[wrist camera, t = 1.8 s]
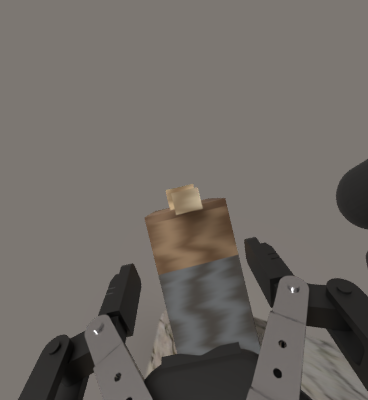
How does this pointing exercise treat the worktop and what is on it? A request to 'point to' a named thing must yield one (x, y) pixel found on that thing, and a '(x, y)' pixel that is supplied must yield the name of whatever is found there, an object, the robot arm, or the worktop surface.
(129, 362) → the robot arm
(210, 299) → the grey tall block
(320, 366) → the worktop surface
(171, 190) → the wooden key
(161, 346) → the worktop surface
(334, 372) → the worktop surface
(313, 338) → the worktop surface
